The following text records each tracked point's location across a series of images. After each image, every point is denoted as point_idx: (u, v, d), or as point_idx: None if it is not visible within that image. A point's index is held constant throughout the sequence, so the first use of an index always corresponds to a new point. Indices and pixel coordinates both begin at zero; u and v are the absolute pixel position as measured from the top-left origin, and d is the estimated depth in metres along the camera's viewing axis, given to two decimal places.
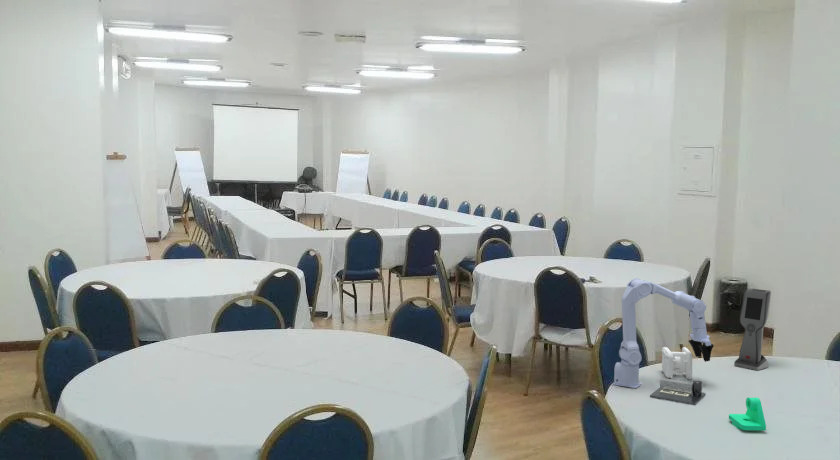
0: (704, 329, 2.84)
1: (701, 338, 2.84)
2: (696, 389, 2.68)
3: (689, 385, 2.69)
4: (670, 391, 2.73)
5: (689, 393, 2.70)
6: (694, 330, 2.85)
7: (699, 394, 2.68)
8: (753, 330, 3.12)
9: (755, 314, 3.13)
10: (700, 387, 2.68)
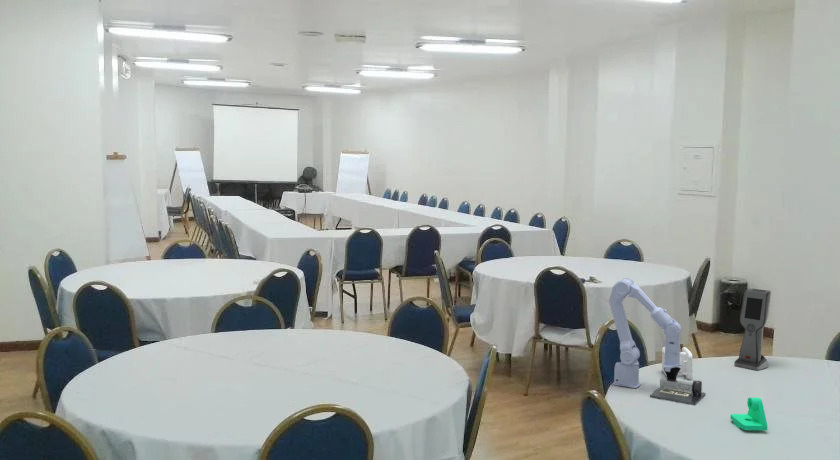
0: (673, 355, 2.74)
1: (668, 363, 2.75)
2: (696, 389, 2.68)
3: (689, 385, 2.69)
4: (670, 391, 2.73)
5: (689, 393, 2.70)
6: (665, 353, 2.77)
7: (699, 394, 2.68)
8: (753, 330, 3.12)
9: (755, 314, 3.13)
10: (700, 387, 2.68)
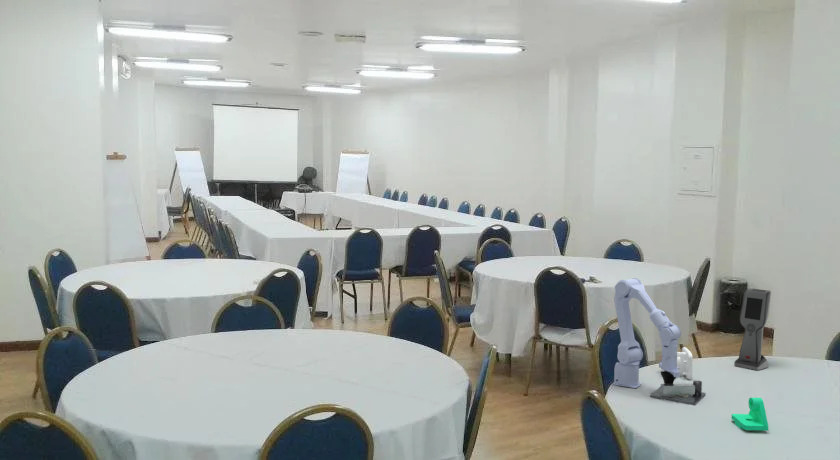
0: (675, 359, 2.68)
1: (670, 368, 2.68)
2: (699, 389, 2.68)
3: (692, 386, 2.68)
4: None
5: None
6: (664, 359, 2.69)
7: (701, 394, 2.68)
8: (753, 330, 3.12)
9: (755, 314, 3.13)
10: (701, 386, 2.68)
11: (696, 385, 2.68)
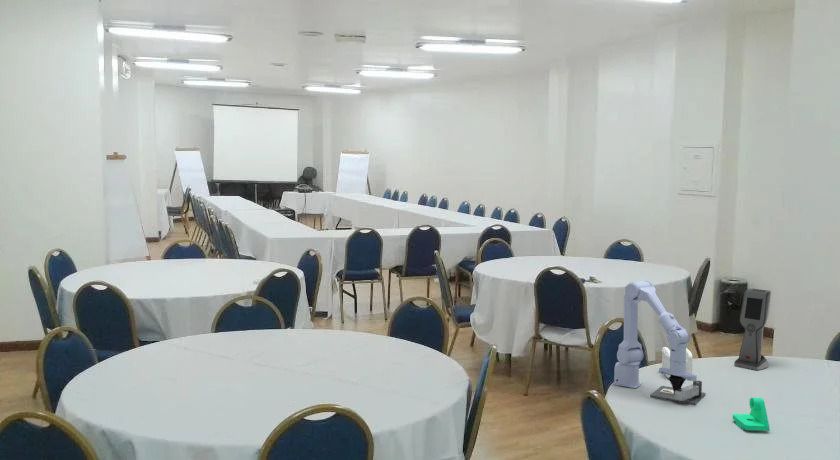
0: (685, 363, 2.62)
1: (683, 373, 2.61)
2: (701, 388, 2.68)
3: (697, 387, 2.66)
4: (670, 391, 2.73)
5: None
6: (677, 364, 2.61)
7: None
8: (753, 330, 3.12)
9: (755, 314, 3.13)
10: None
11: (699, 385, 2.68)
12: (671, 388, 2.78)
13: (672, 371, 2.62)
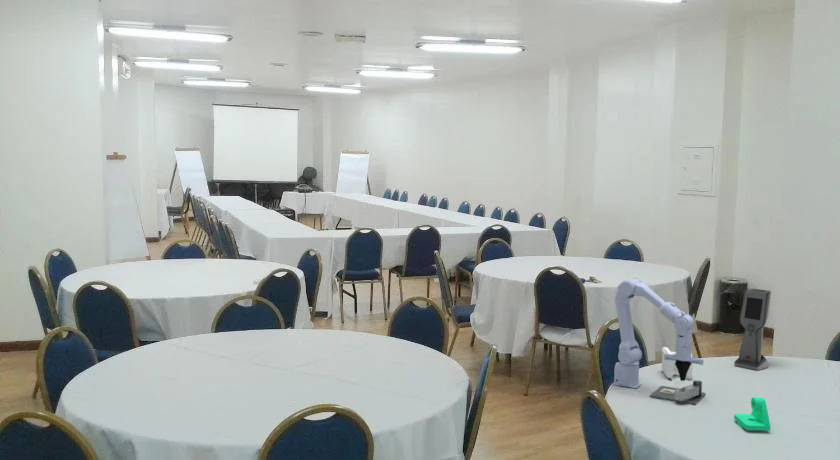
0: None
1: (690, 357, 2.67)
2: (701, 388, 2.68)
3: (697, 387, 2.66)
4: (670, 391, 2.73)
5: None
6: (685, 349, 2.67)
7: None
8: (753, 330, 3.12)
9: (755, 314, 3.13)
10: None
11: (699, 385, 2.68)
12: (671, 388, 2.78)
13: (680, 357, 2.68)
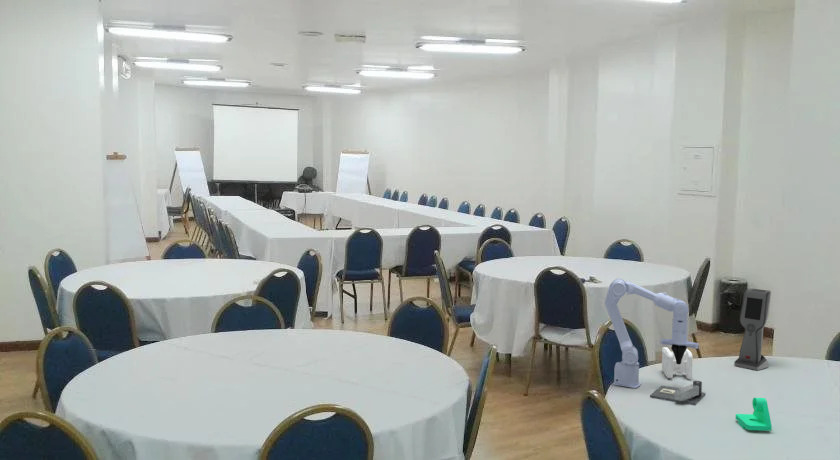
0: None
1: (686, 342, 2.77)
2: (701, 388, 2.68)
3: (697, 387, 2.66)
4: (670, 391, 2.73)
5: None
6: (681, 334, 2.76)
7: None
8: (753, 330, 3.12)
9: (755, 314, 3.13)
10: None
11: (699, 385, 2.68)
12: (671, 388, 2.78)
13: (676, 341, 2.77)
